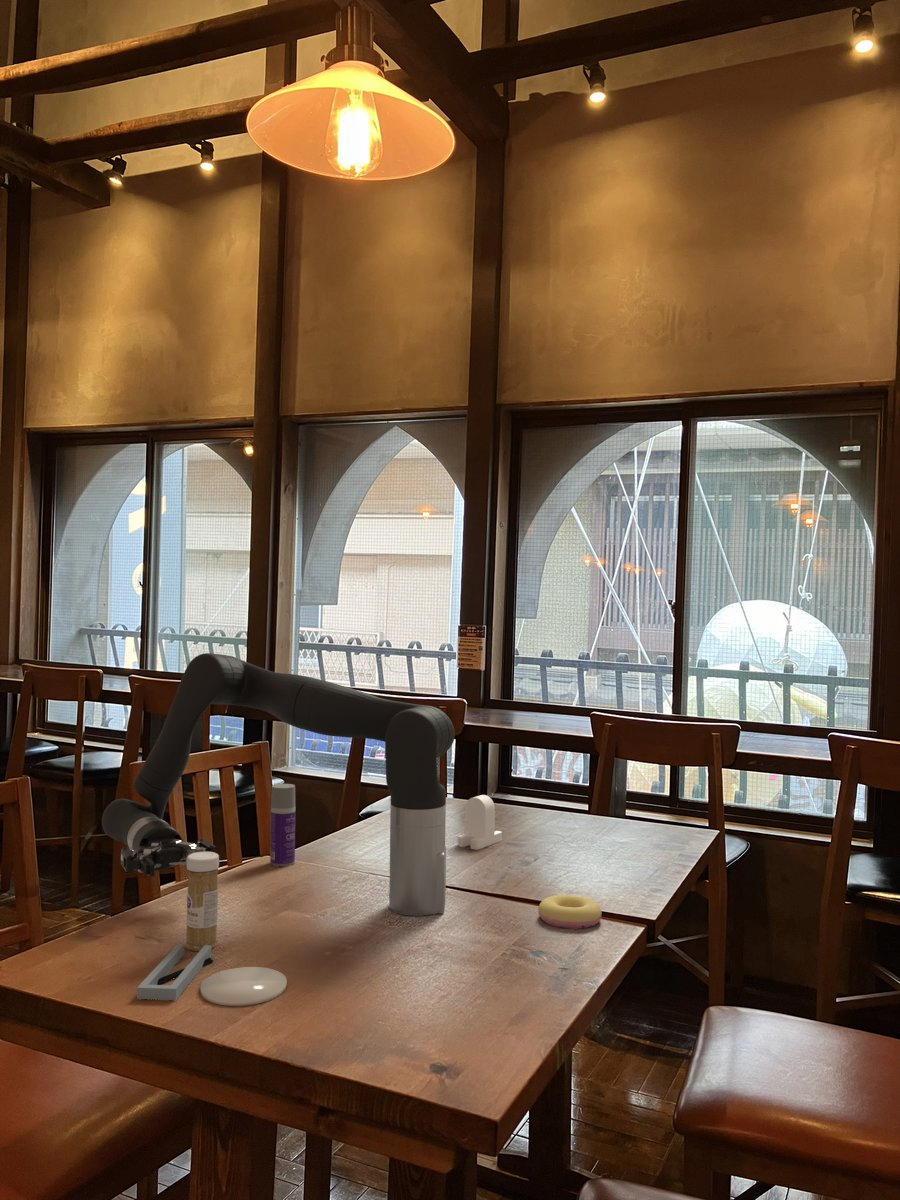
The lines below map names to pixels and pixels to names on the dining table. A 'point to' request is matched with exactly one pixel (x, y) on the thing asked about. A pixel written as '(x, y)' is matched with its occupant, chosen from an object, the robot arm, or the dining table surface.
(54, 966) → the dining table surface
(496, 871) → the dining table surface
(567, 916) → the donut
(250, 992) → the coaster
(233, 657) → the robot arm
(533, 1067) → the dining table surface
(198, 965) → the grey u-shaped piece
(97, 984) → the dining table surface
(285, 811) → the container
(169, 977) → the black marker pen
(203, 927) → the sprinkles bottle
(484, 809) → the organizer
